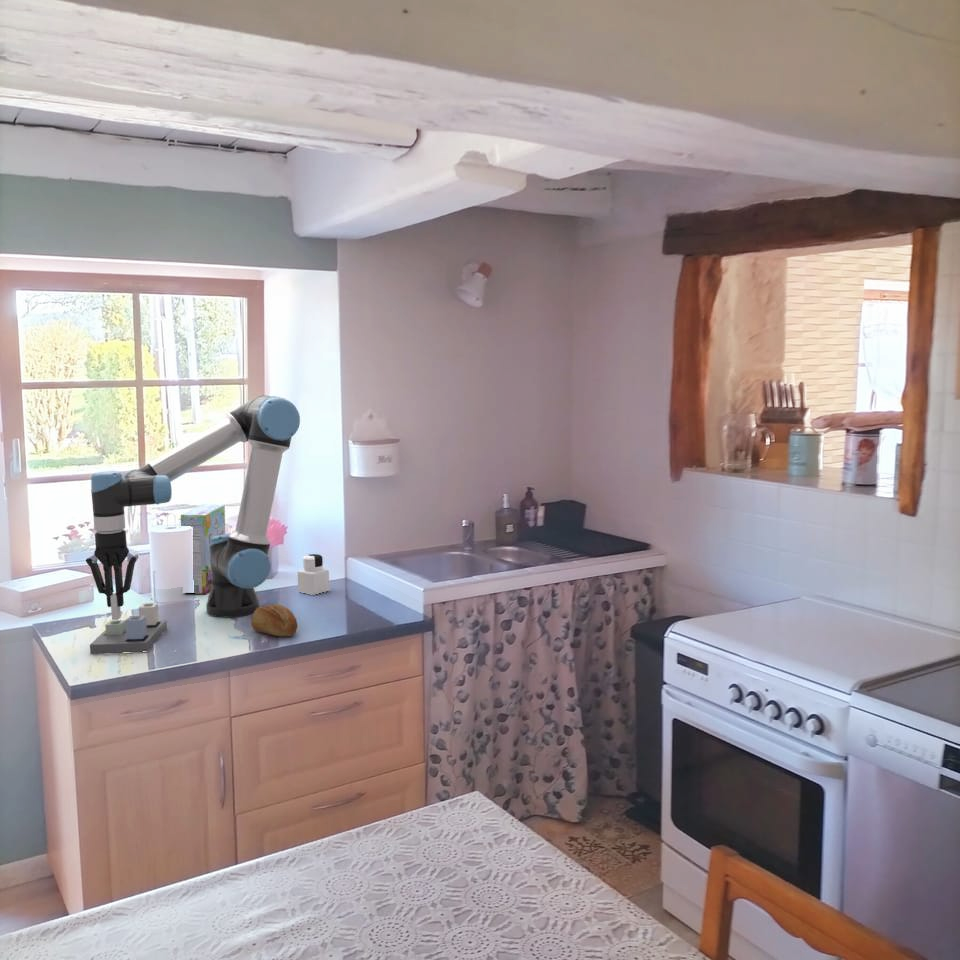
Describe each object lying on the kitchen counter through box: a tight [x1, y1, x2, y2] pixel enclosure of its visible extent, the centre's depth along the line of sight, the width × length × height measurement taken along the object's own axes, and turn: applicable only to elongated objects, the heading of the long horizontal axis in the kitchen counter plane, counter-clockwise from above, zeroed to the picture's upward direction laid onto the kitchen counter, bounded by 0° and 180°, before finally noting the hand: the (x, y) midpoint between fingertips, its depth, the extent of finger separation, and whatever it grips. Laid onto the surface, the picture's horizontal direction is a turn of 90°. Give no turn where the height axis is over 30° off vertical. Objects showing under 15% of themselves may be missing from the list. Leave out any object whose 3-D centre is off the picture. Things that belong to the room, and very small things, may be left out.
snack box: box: [180, 504, 226, 595], centre depth 295 cm, size 22×9×26 cm, turn 179°
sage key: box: [104, 619, 126, 635], centre depth 239 cm, size 4×4×5 cm
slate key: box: [124, 615, 147, 639], centre depth 233 cm, size 4×4×5 cm
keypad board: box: [89, 619, 168, 655], centre depth 240 cm, size 14×20×2 cm
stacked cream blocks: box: [297, 553, 330, 596], centre depth 288 cm, size 7×7×12 cm
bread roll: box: [250, 603, 298, 637], centre depth 246 cm, size 10×15×8 cm, turn 55°
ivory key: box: [138, 602, 160, 625], centre depth 245 cm, size 4×4×5 cm
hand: (116, 618), depth 239 cm, fingers closed
